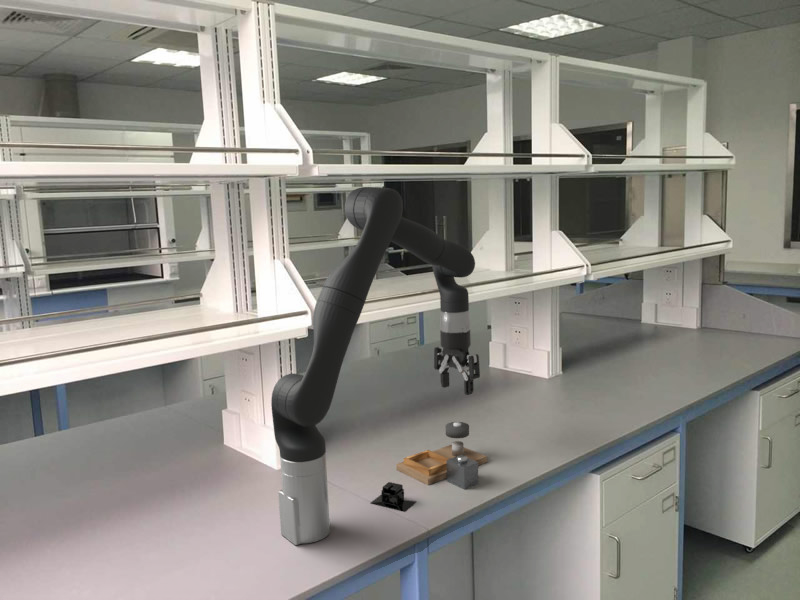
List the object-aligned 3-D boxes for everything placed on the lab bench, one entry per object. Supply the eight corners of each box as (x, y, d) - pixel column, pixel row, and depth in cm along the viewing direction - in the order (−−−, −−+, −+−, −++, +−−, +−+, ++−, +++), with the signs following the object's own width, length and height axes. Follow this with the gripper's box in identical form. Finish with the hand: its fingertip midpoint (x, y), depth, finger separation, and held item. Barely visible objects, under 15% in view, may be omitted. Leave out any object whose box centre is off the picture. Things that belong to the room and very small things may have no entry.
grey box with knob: (464, 490, 154) (463, 463, 153) (446, 481, 158) (446, 456, 157) (478, 484, 157) (478, 458, 156) (460, 476, 161) (460, 450, 160)
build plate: (361, 505, 149) (360, 486, 148) (378, 492, 155) (377, 474, 154) (409, 517, 143) (409, 497, 142) (425, 503, 149) (424, 484, 148)
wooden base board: (428, 485, 157) (427, 467, 156) (396, 469, 166) (396, 452, 165) (486, 461, 169) (486, 445, 168) (454, 448, 178) (454, 432, 178)
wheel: (457, 440, 166) (456, 429, 165) (440, 433, 170) (440, 423, 170) (474, 434, 169) (473, 423, 169) (457, 428, 174) (457, 418, 173)
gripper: (425, 326, 168) (427, 387, 171) (464, 334, 157) (465, 400, 160) (446, 322, 173) (448, 381, 176) (486, 329, 162) (487, 393, 165)
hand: (456, 390), depth 168 cm, fingers open, 8 cm apart
